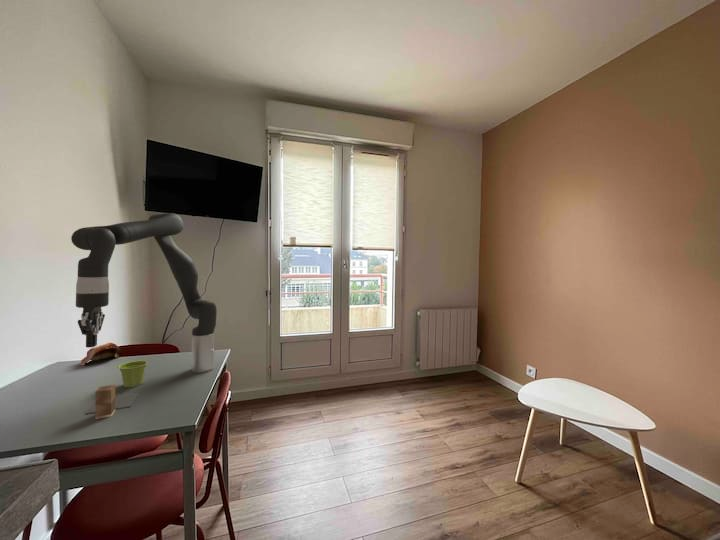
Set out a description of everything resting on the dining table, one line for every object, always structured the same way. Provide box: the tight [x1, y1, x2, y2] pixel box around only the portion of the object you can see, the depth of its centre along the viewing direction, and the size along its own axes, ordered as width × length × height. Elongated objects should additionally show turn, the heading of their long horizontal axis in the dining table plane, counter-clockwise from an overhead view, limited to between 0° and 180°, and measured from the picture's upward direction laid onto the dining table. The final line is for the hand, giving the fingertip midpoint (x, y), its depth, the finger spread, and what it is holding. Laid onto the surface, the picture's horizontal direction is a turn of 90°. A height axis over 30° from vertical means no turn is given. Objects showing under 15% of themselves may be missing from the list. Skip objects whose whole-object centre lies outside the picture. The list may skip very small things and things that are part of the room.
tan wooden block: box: [94, 384, 116, 420], centre depth 95 cm, size 4×4×9 cm
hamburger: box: [80, 342, 121, 366], centre depth 144 cm, size 16×13×10 cm
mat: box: [85, 391, 140, 415], centre depth 103 cm, size 12×12×1 cm
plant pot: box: [118, 360, 148, 388], centre depth 118 cm, size 9×9×9 cm
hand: (91, 346), depth 89 cm, fingers closed
